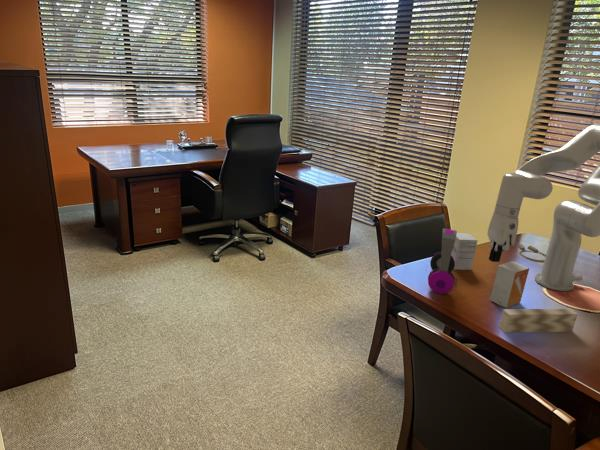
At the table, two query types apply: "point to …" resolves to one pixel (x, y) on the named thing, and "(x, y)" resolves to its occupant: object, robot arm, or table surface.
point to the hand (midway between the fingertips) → (493, 260)
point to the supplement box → (464, 251)
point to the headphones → (443, 265)
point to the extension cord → (530, 251)
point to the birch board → (537, 320)
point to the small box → (509, 284)
